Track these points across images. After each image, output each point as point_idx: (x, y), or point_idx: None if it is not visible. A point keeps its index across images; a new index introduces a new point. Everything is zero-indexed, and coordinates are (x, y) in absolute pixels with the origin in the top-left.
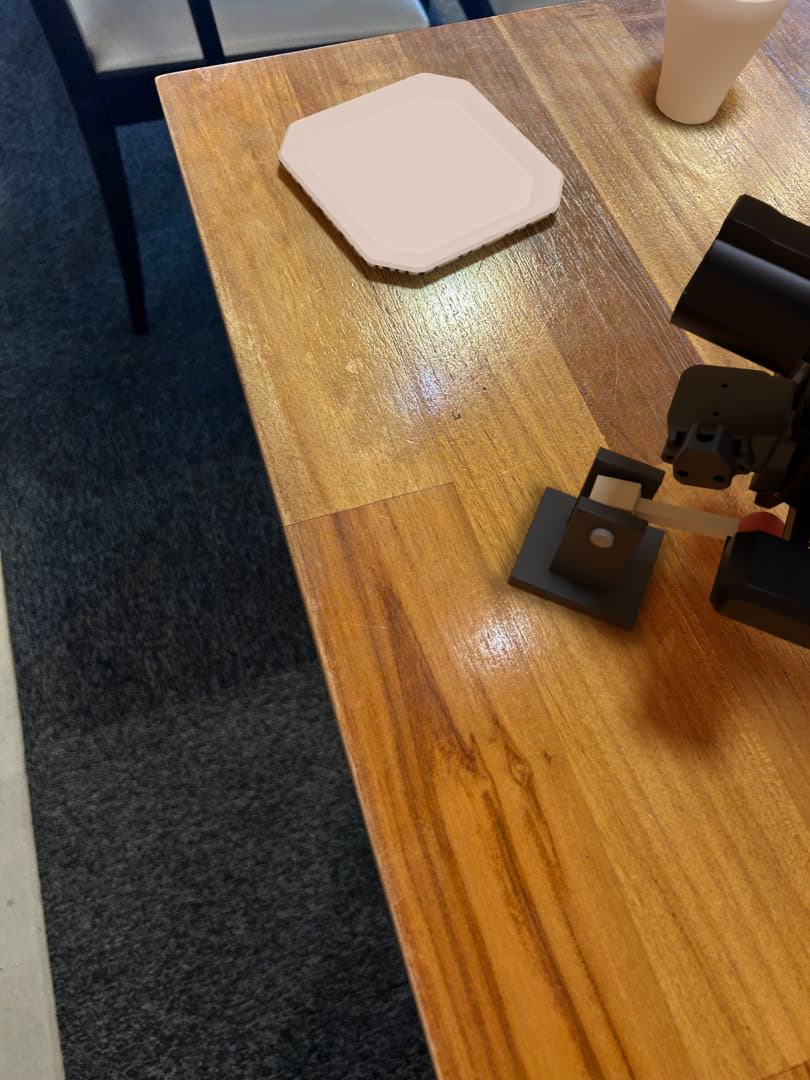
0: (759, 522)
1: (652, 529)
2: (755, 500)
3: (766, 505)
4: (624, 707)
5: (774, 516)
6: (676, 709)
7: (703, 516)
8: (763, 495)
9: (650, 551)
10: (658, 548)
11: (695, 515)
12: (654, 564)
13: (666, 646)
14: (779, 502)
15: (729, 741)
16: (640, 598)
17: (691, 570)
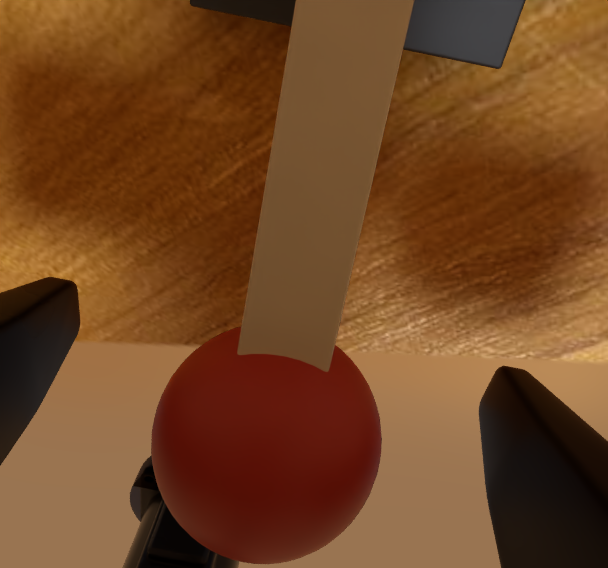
0: (246, 495)
1: (505, 27)
2: (508, 378)
3: (489, 407)
4: (15, 13)
5: (316, 542)
6: (69, 136)
7: (336, 177)
8: (516, 425)
9: (428, 28)
10: (441, 53)
11: (338, 129)
12: None
13: (199, 104)
14: (486, 467)
15: (59, 237)
16: (273, 13)
17: (407, 150)
